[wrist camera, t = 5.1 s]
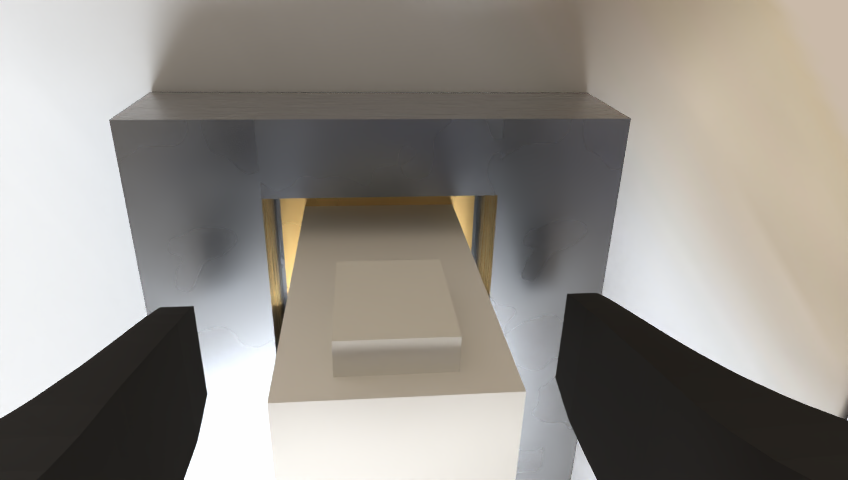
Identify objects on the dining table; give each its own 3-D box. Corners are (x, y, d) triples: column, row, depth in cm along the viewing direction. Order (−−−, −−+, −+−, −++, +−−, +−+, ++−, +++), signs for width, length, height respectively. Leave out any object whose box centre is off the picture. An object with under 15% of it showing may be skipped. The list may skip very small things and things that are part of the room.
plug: (453, 180, 14) (530, 355, 8) (446, 327, 16) (504, 564, 10) (303, 181, 14) (263, 366, 8) (312, 331, 16) (284, 581, 10)
